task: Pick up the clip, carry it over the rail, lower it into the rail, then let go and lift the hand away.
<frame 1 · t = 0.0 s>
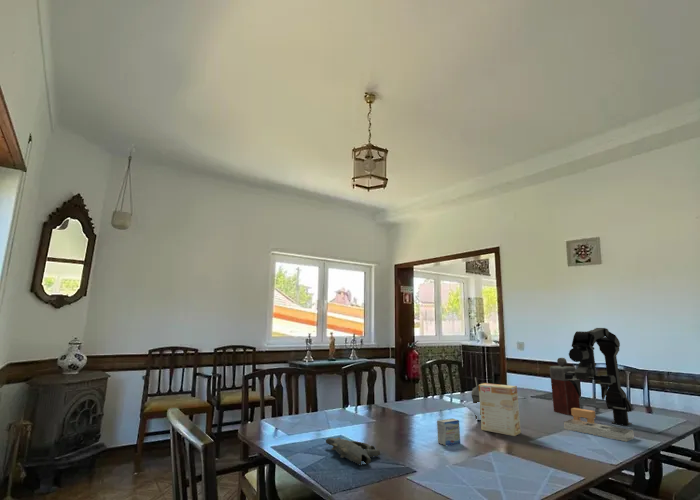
hand: (591, 398, 168), 15 cm above the table, tool pointing down, fingers open, 9 cm apart
coffeecake box: (500, 432, 170), on the table
clip: (584, 424, 181), on the table
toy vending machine: (568, 412, 205), on the table
medicine box: (449, 443, 154), on the table
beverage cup: (480, 420, 191), on the table
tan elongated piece: (354, 456, 141), on the table
rail: (597, 433, 166), on the table
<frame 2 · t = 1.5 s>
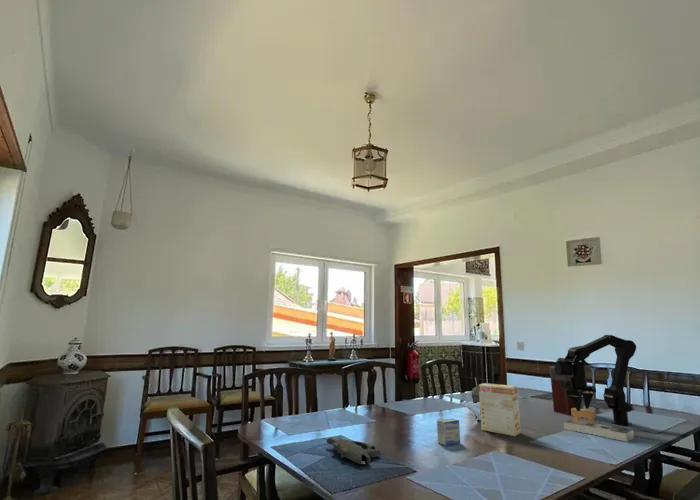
hand: (582, 409, 182), 6 cm above the table, tool pointing down, fingers open, 9 cm apart
nothing on the table moved.
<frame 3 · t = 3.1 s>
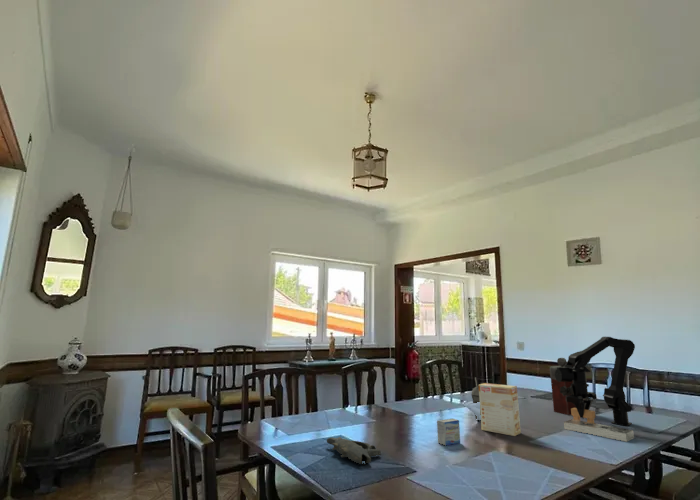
hand: (583, 416, 181), 4 cm above the table, tool pointing down, fingers closed on clip, 3 cm apart
clip: (584, 424, 181), on the table, touching gripper
everything else where it was.
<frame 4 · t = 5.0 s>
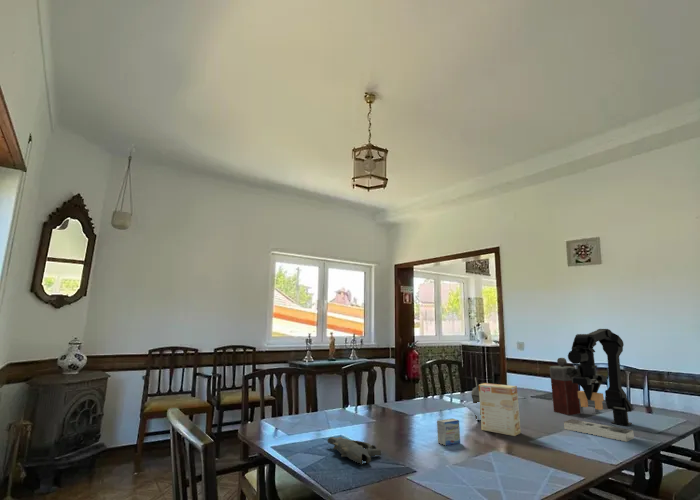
hand: (591, 399, 171), 13 cm above the table, tool pointing down, fingers closed on clip, 3 cm apart
clip: (591, 407, 170), point 10 cm above the table, touching gripper
everything else where it was.
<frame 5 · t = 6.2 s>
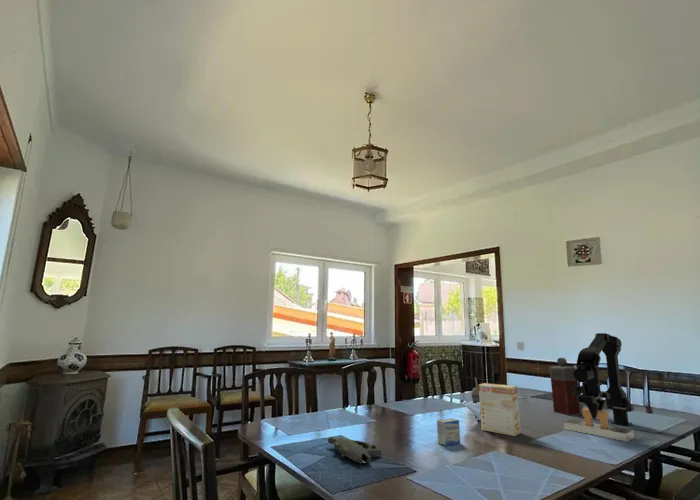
hand: (596, 417, 168), 6 cm above the table, tool pointing down, fingers closed on clip, 3 cm apart
clip: (596, 426, 167), point 3 cm above the table, touching gripper
when the fingers open (4 cm above the table, at t = 7.2 s): clip stays where it is, on the table.
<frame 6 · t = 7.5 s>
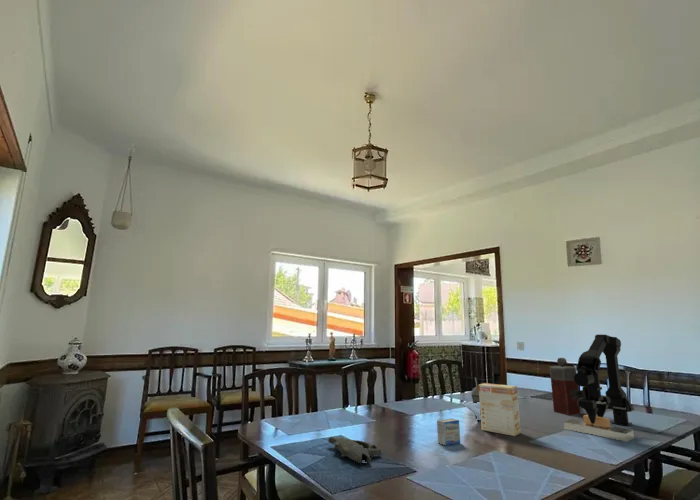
hand: (596, 422, 167), 4 cm above the table, tool pointing down, fingers open, 7 cm apart
clip: (597, 433, 167), on the table
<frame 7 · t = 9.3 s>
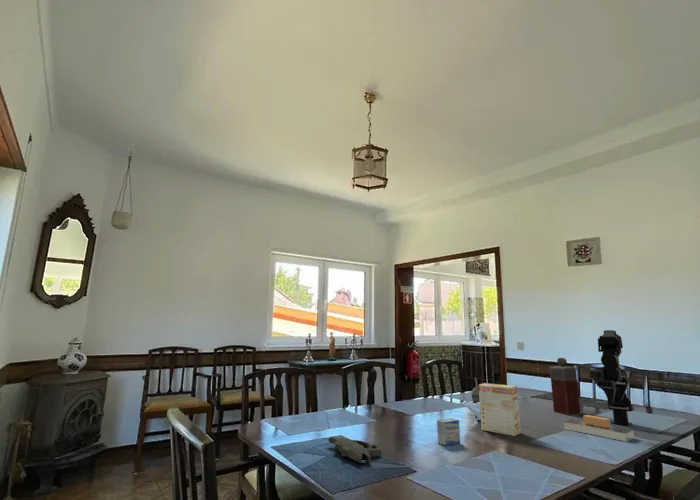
hand: (615, 402, 168), 13 cm above the table, tool pointing down, fingers open, 9 cm apart
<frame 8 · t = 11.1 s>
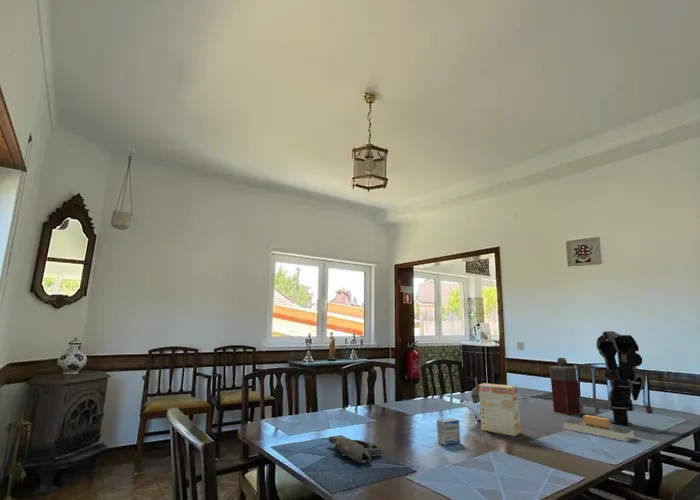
hand: (631, 401, 168), 13 cm above the table, tool pointing down, fingers open, 9 cm apart
at the end: clip 0.2 cm off-centre on the rail, point 0.0 cm above the rail's base; clip tilted 0°; the gripper is holding nothing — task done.
